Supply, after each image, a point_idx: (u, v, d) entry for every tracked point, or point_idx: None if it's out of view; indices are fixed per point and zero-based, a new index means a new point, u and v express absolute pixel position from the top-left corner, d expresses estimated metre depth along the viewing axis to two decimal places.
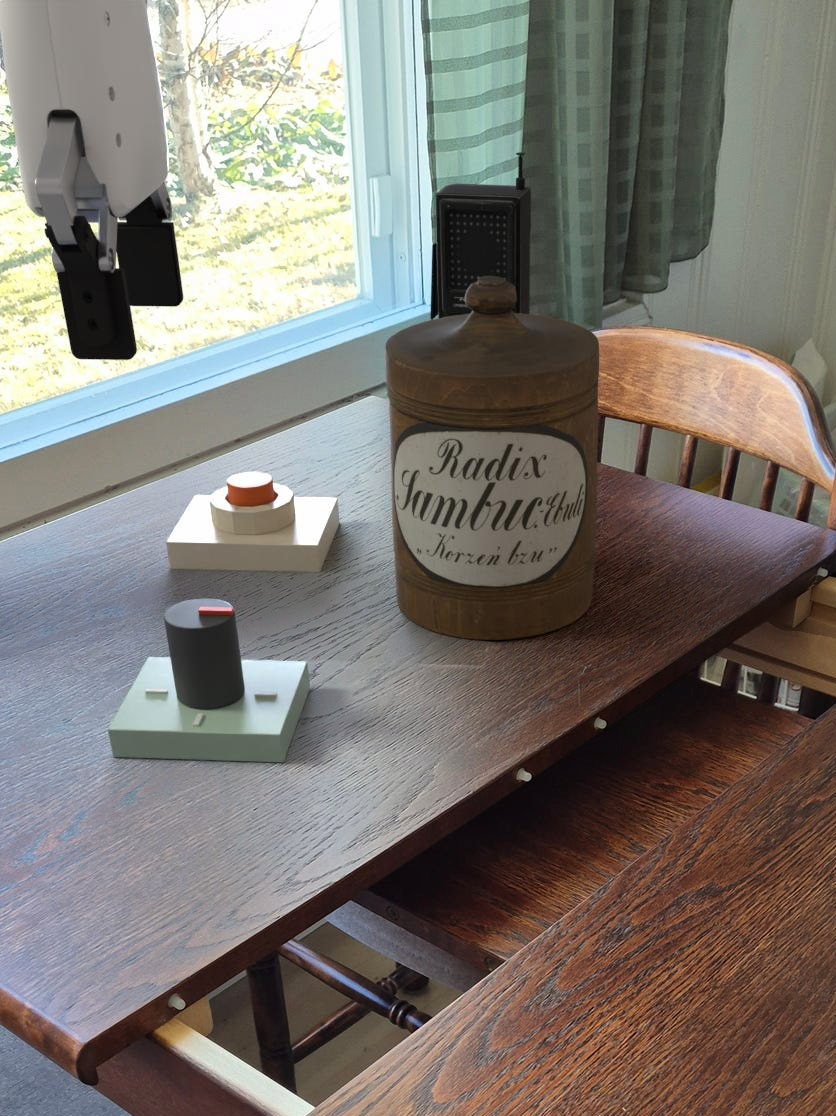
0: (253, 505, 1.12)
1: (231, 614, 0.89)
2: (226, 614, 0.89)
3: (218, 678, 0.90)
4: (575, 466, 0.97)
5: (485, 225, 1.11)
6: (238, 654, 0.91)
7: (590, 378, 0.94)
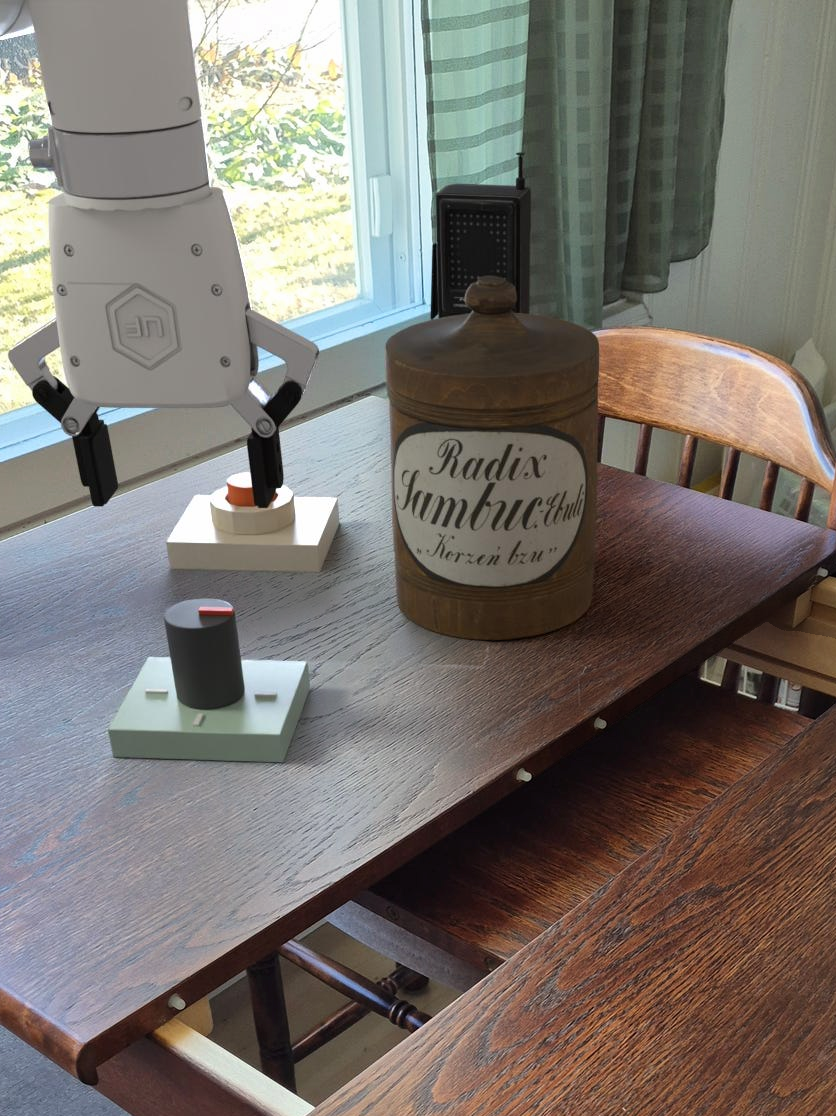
0: (253, 505, 1.12)
1: (231, 614, 0.89)
2: (226, 614, 0.89)
3: (218, 678, 0.90)
4: (575, 466, 0.97)
5: (485, 225, 1.11)
6: (238, 654, 0.91)
7: (590, 378, 0.94)
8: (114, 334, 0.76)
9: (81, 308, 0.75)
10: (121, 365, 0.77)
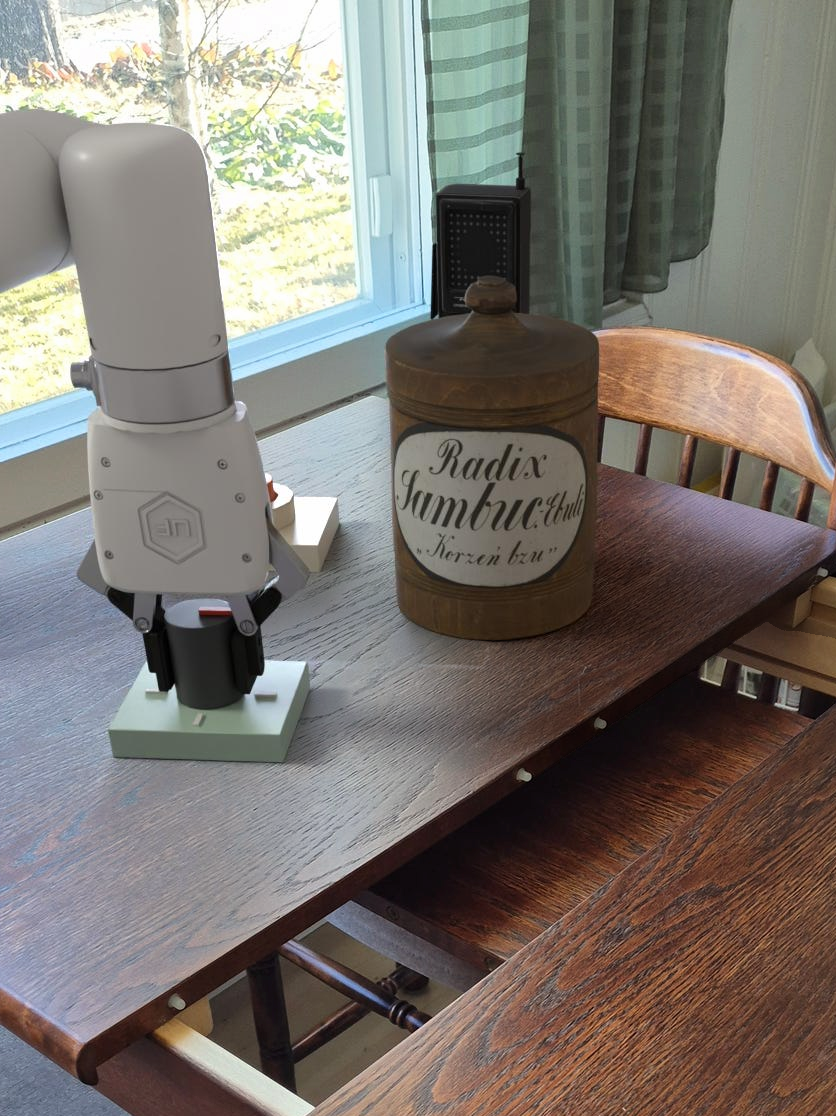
0: None
1: (231, 614, 0.89)
2: (226, 614, 0.89)
3: (218, 678, 0.90)
4: (575, 466, 0.97)
5: (485, 225, 1.11)
6: None
7: (590, 378, 0.94)
8: (145, 533, 0.83)
9: (116, 511, 0.83)
10: (151, 559, 0.84)
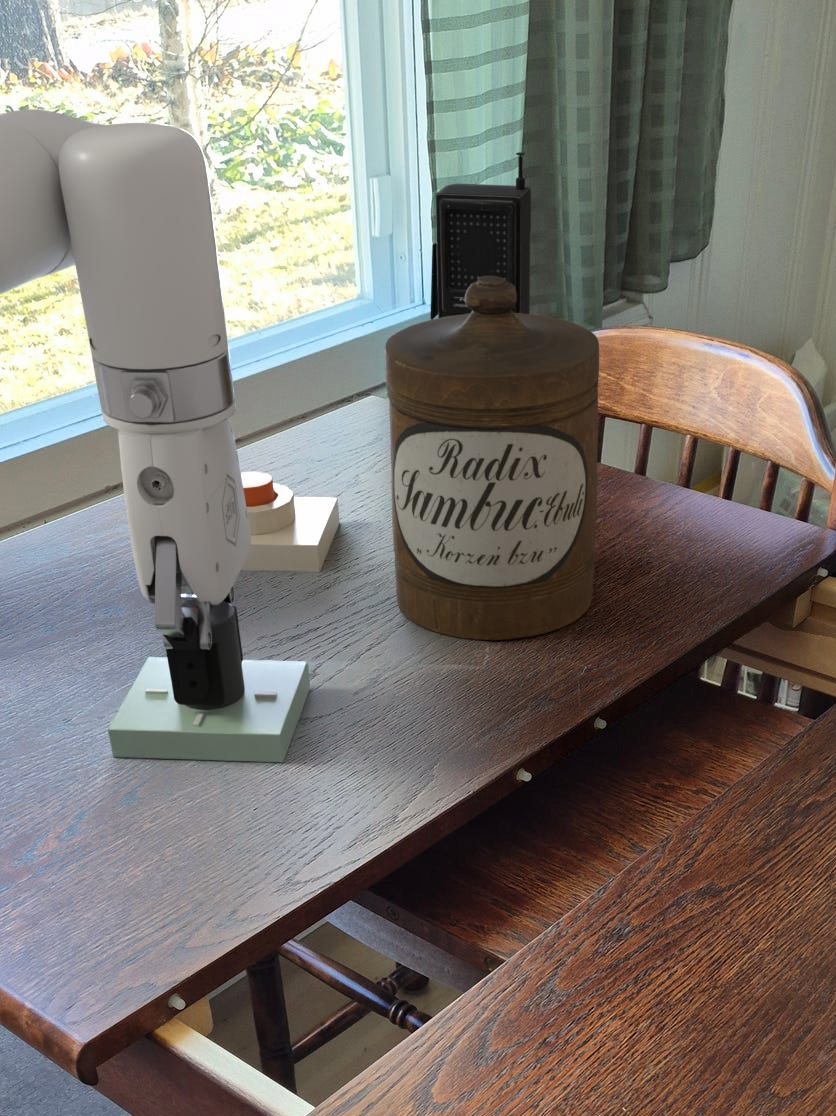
0: (253, 505, 1.12)
1: None
2: None
3: None
4: (575, 466, 0.97)
5: (485, 225, 1.11)
6: None
7: (590, 378, 0.94)
8: (224, 527, 0.84)
9: (215, 516, 0.82)
10: (229, 552, 0.85)
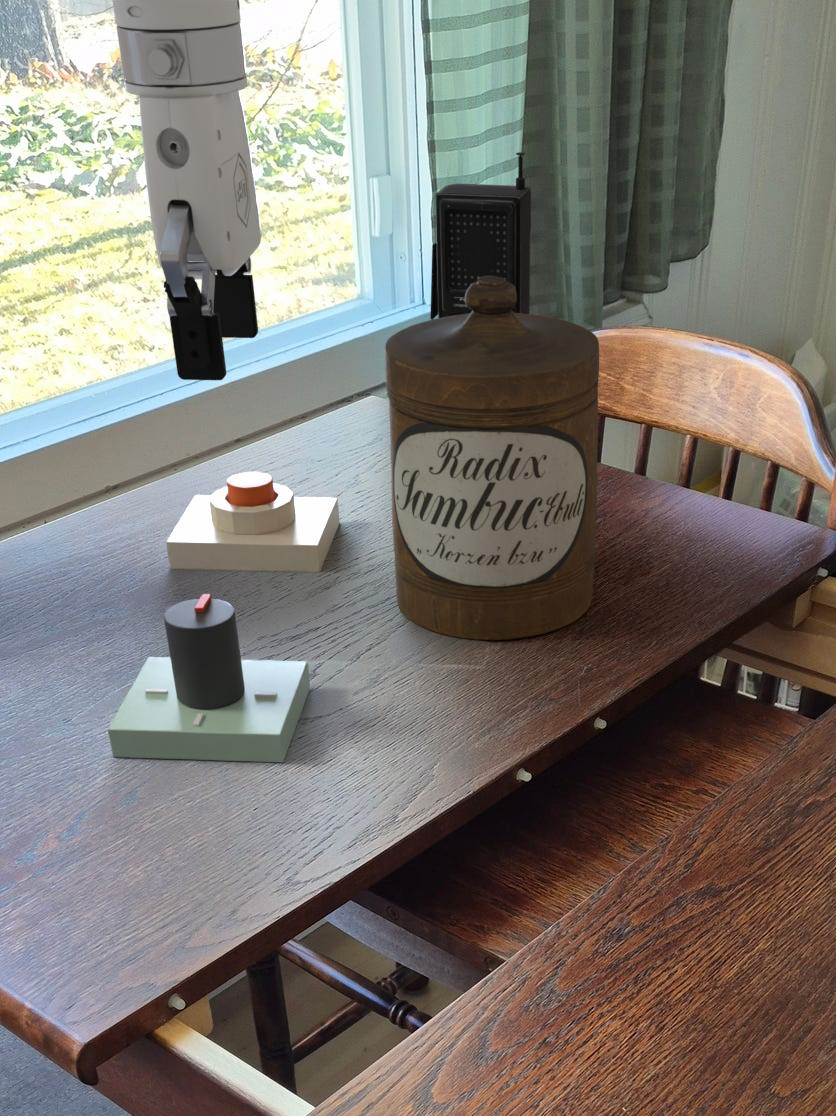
0: (253, 505, 1.12)
1: (210, 597, 0.91)
2: (209, 599, 0.91)
3: None
4: (575, 466, 0.97)
5: (485, 225, 1.11)
6: None
7: (590, 378, 0.94)
8: (236, 202, 0.91)
9: (227, 185, 0.89)
10: (240, 229, 0.92)
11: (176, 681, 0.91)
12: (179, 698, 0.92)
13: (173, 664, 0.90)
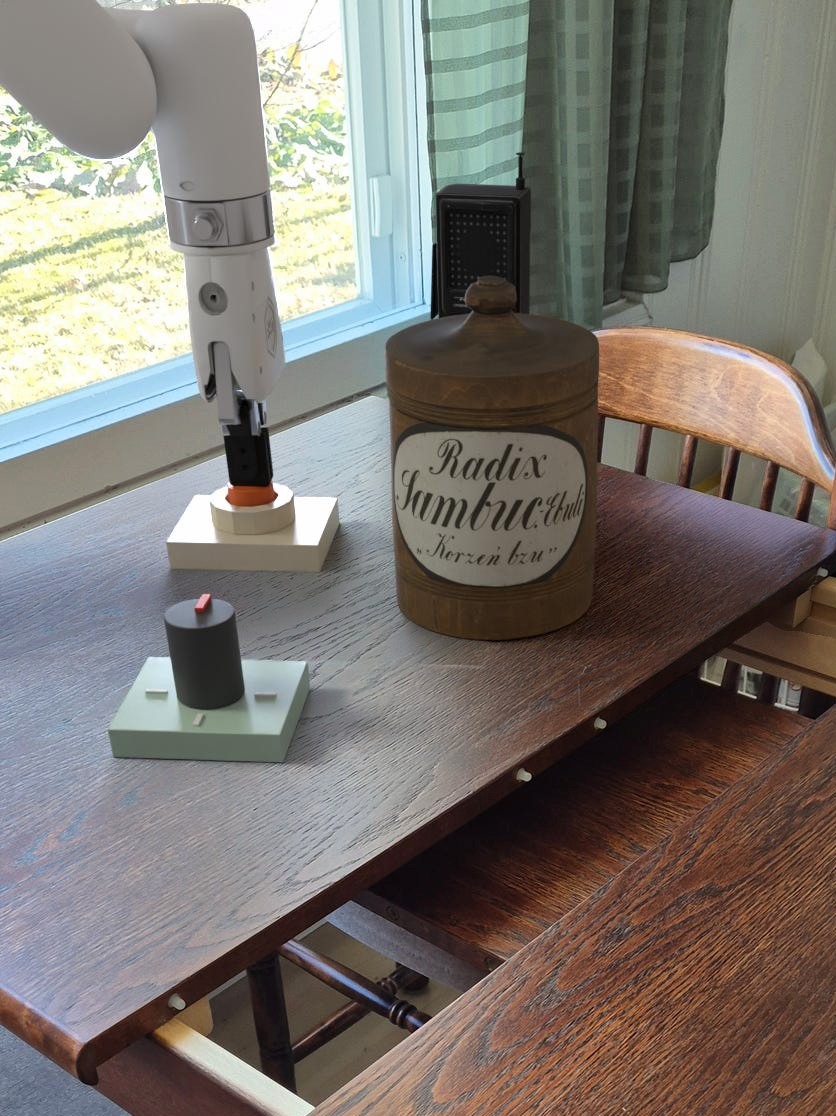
0: None
1: (210, 597, 0.91)
2: (209, 599, 0.91)
3: None
4: (575, 466, 0.97)
5: (485, 225, 1.11)
6: None
7: (590, 378, 0.94)
8: (266, 339, 1.04)
9: (259, 327, 1.02)
10: (269, 361, 1.05)
11: (176, 681, 0.91)
12: (179, 698, 0.92)
13: (173, 664, 0.90)
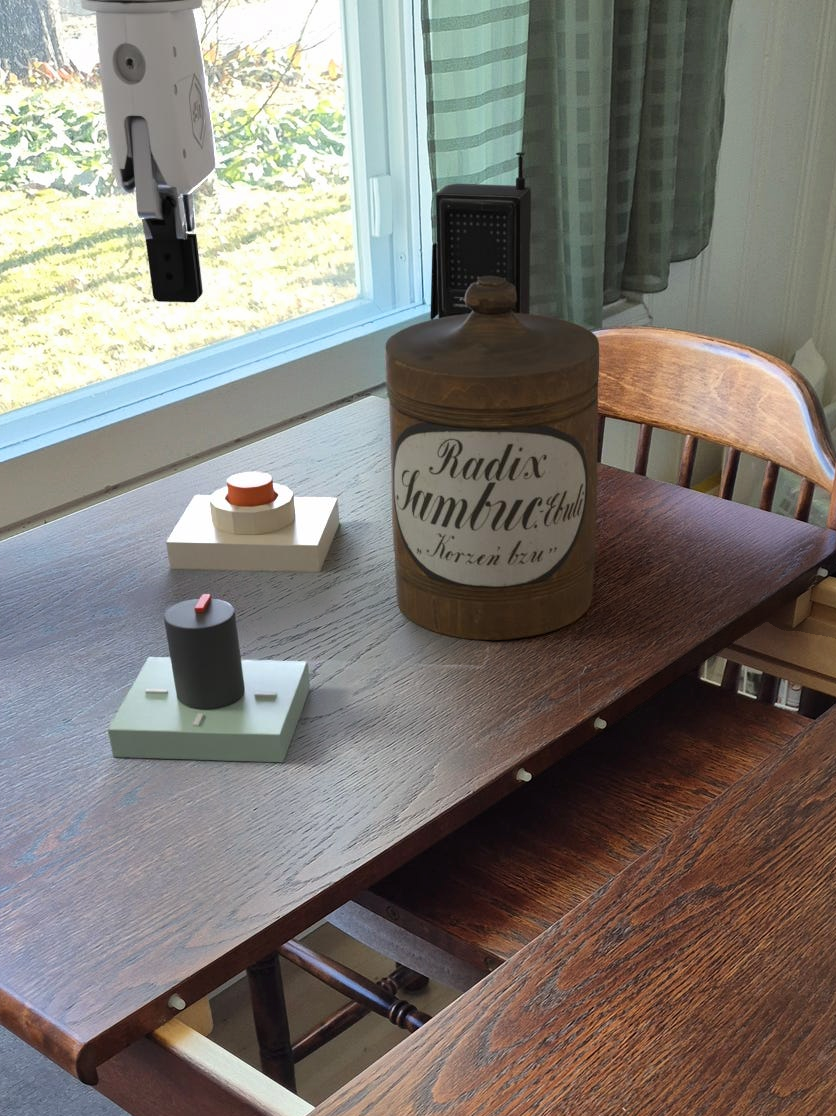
0: (253, 505, 1.12)
1: (210, 597, 0.91)
2: (209, 599, 0.91)
3: None
4: (575, 466, 0.97)
5: (485, 225, 1.11)
6: None
7: (590, 378, 0.94)
8: (191, 122, 0.93)
9: (182, 103, 0.91)
10: (196, 149, 0.94)
11: (176, 681, 0.91)
12: (179, 698, 0.92)
13: (173, 664, 0.90)
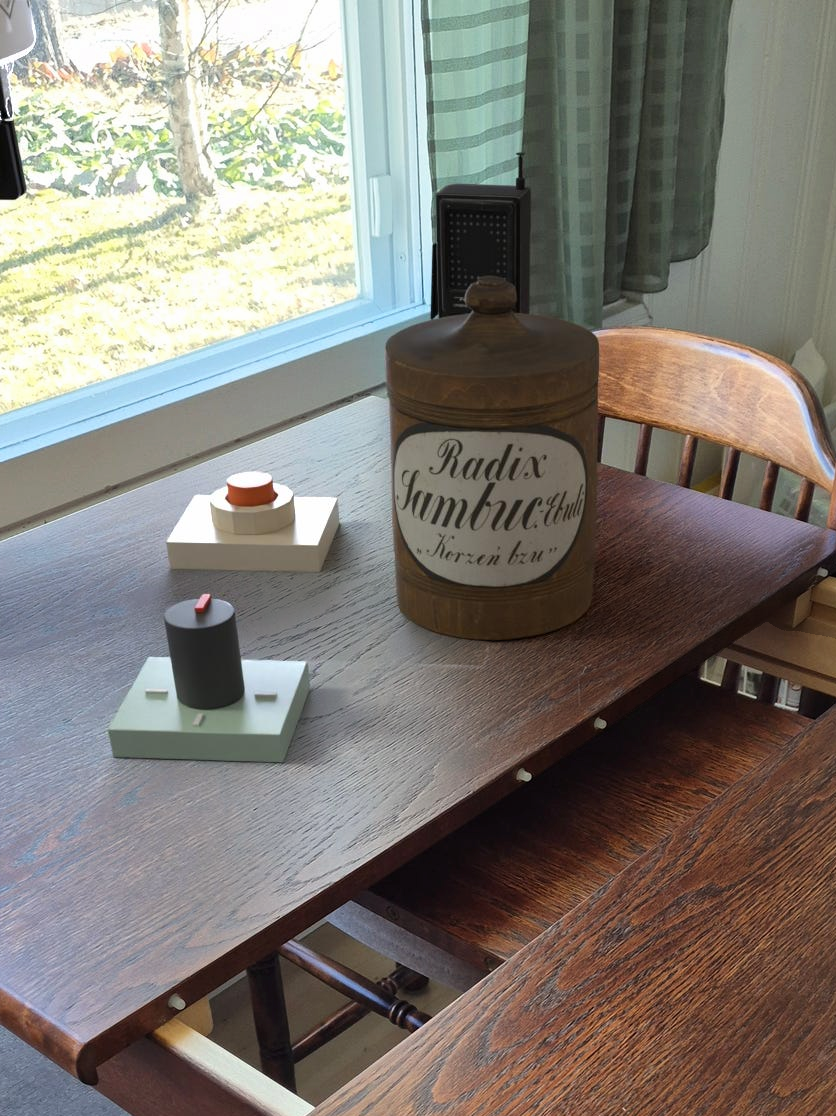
0: (253, 505, 1.12)
1: (210, 597, 0.91)
2: (209, 599, 0.91)
3: None
4: (575, 466, 0.97)
5: (485, 225, 1.11)
6: None
7: (590, 378, 0.94)
8: None
9: None
10: None
11: (176, 681, 0.91)
12: (179, 698, 0.92)
13: (173, 664, 0.90)
